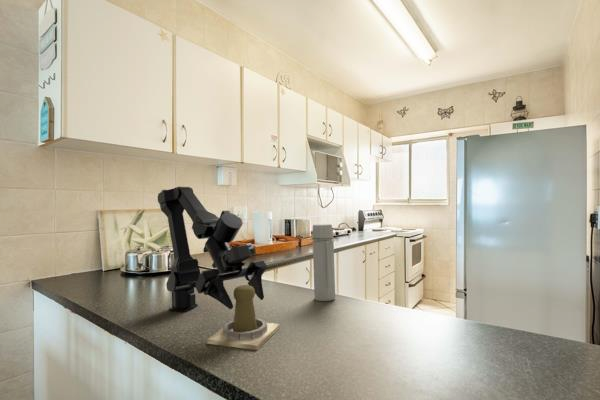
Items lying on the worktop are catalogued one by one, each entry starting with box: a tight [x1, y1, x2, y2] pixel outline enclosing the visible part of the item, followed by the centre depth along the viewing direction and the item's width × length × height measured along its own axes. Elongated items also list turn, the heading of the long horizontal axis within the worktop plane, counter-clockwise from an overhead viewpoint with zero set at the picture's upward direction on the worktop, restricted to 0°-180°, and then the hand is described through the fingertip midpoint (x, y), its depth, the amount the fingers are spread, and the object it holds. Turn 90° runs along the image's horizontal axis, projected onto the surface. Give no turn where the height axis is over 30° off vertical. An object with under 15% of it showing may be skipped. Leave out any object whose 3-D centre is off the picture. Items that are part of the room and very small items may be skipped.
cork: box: [233, 284, 257, 332], centre depth 77 cm, size 6×6×11 cm
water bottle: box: [311, 223, 336, 302], centre depth 104 cm, size 9×8×25 cm
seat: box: [206, 317, 281, 351], centre depth 76 cm, size 13×13×2 cm
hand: (247, 303), depth 76 cm, fingers open, 9 cm apart
